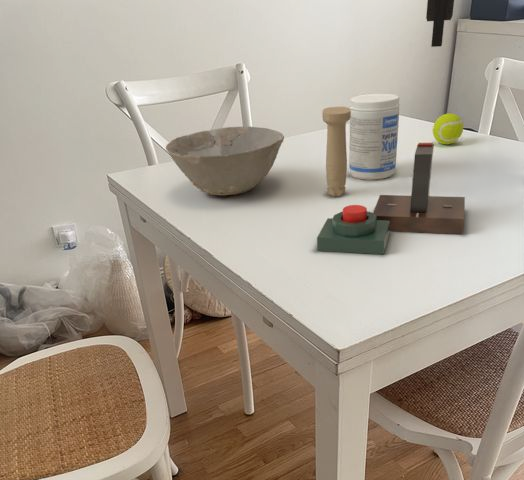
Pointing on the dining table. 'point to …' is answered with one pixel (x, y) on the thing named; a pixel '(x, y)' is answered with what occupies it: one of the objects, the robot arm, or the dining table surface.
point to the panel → (422, 214)
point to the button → (354, 213)
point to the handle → (336, 148)
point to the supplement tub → (373, 135)
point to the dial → (421, 177)
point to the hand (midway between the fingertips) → (436, 45)
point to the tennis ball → (448, 128)
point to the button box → (354, 235)
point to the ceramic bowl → (226, 158)
